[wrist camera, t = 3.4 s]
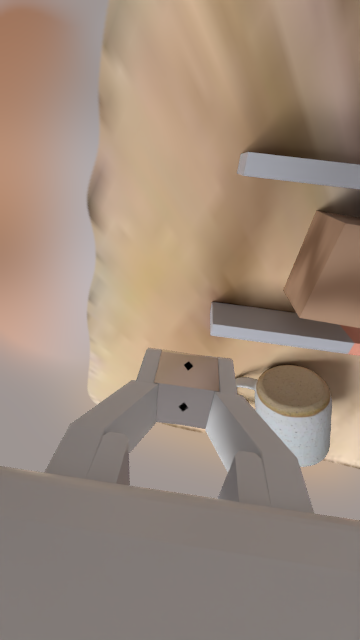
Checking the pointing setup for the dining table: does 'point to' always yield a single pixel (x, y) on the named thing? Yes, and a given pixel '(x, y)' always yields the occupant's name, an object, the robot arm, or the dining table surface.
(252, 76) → the dining table surface
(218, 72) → the dining table surface
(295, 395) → the ceramic mug
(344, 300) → the walnut block
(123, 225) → the dining table surface
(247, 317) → the frame
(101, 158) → the dining table surface
